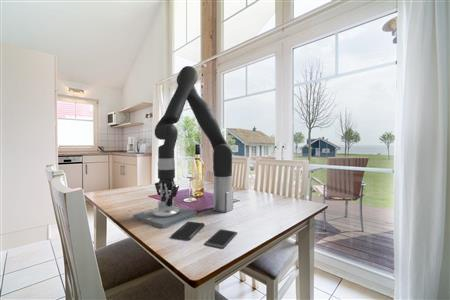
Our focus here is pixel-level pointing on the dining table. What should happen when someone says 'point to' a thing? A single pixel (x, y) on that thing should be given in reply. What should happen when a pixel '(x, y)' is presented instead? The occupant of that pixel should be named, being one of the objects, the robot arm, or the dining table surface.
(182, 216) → the dial base
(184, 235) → the phone
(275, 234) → the dining table surface
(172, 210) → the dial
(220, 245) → the cell phone
